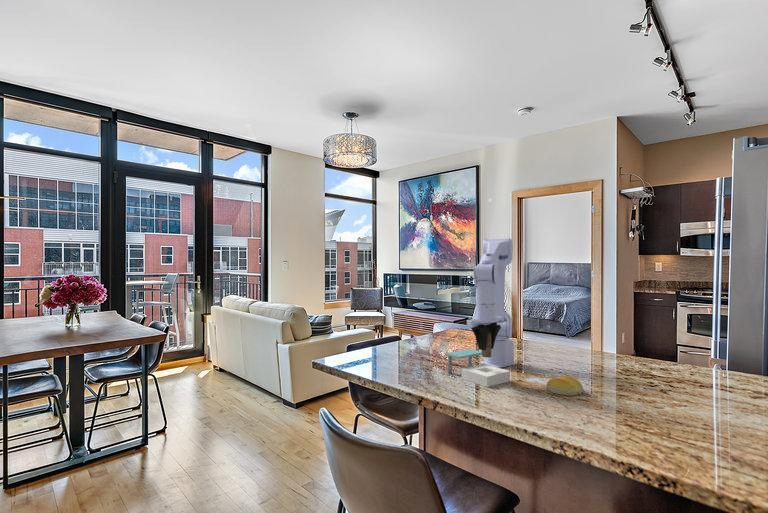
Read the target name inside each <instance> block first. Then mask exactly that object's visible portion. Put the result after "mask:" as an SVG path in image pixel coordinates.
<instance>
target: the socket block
mask: <svg viewBox="0 0 768 513" xmlns="http://www.w3.org/2000/svg"><path fill="white" fill-rule="evenodd" d="M461 380H465V381H467V382H471V383H473V384H477V385H479V386H483V387H485V388H490V387H493V386H497V385H501V384H505V383H509V382H511V371H510V370H508V369H507V370H506V369H503V368H502V367H501V368H497V367H493V366H490V365H486V364H482V363H481V364H476V365H472V367H468V366H467V367H464V368H461Z"/></svg>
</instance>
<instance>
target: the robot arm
mask: <svg viewBox="0 0 768 513" xmlns="http://www.w3.org/2000/svg"><path fill="white" fill-rule="evenodd" d="M513 244H514V242H513V239H512V238H511V237H508V238H489V239H488V238H484V240H482V253H483V255H482V256H481V258H480V261H479V263H478V264H477V265H474V267H473V272H472V273H473V274H472V275H473V281H474V282H473V283H474V289H475V316H474V317H473V318H471V319H467V320H466V327H467V328H470V330H471V331H472V332H473V334H474V336H475V340H476V343H477V347H478V350H479V351H482V350H486V344H487V335H488V332H490V333H491V357H485V359H486V360H484V361H481V362H480V363H481V365H482V364H486V365H490V366H493V367H497V368H501V369H502V368H504V367H509V366H514V365H517V362H515V346H514V342H513V340H512V339H511V337H512V335H513V323H512V317H511V315H510V314H509V313H508V312H507V311H505V308H504V307H505V288H506V287H505V286H506V284H505V283H506V281H505V280H506V269H507V267H508V265H510V264H512V263H513V262H512V261H513V253H514V252H513V250H514V247H513Z"/></svg>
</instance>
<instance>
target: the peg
mask: <svg viewBox="0 0 768 513" xmlns="http://www.w3.org/2000/svg"><path fill="white" fill-rule="evenodd" d="M481 352H482V355H481V357H483V358H486V357H491V333H490V332H488V335H487V344H486V350H481Z"/></svg>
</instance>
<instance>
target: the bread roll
mask: <svg viewBox="0 0 768 513" xmlns="http://www.w3.org/2000/svg"><path fill="white" fill-rule="evenodd" d="M546 388H547V389H548V391H549V392H550V393H551V394H552V393H553V394H555V395H559V396H568V397H570V396H577V395H580V394H582V393H583V392H584V387H583V384H582V383H581V382H580V381H579V380H578V379H577V378H575V377H573V376H568V375H562V376H559V377H554V378H550V379H549V380H548V381H547V382H546Z"/></svg>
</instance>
